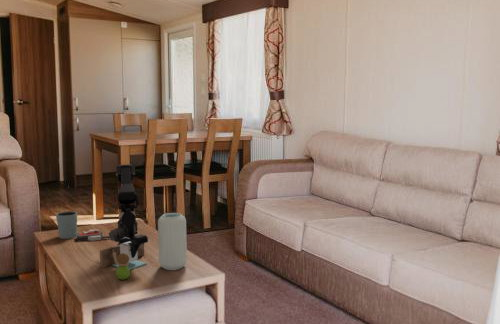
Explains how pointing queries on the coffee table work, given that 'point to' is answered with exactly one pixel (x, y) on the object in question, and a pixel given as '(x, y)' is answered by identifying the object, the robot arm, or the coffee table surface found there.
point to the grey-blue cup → (67, 224)
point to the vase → (172, 241)
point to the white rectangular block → (127, 251)
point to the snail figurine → (122, 265)
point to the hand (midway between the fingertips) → (129, 256)
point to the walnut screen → (108, 258)
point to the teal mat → (132, 264)
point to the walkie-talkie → (90, 236)
